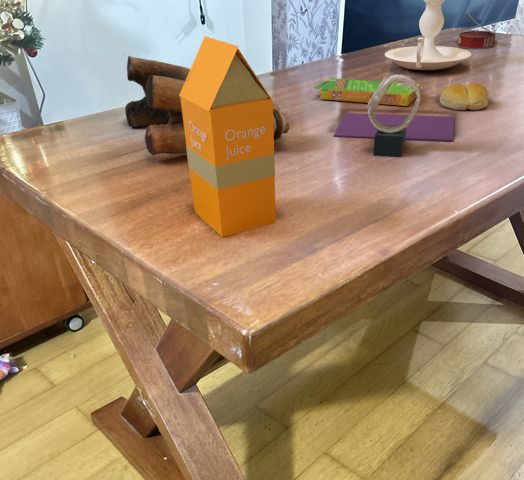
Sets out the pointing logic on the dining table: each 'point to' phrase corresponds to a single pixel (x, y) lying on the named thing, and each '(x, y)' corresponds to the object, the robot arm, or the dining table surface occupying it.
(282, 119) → the stacked firewood logs
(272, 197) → the orange juice
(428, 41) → the candlestick
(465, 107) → the bread roll
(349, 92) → the game box
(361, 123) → the cloth
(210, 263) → the dining table surface
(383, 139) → the watch
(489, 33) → the canned food
